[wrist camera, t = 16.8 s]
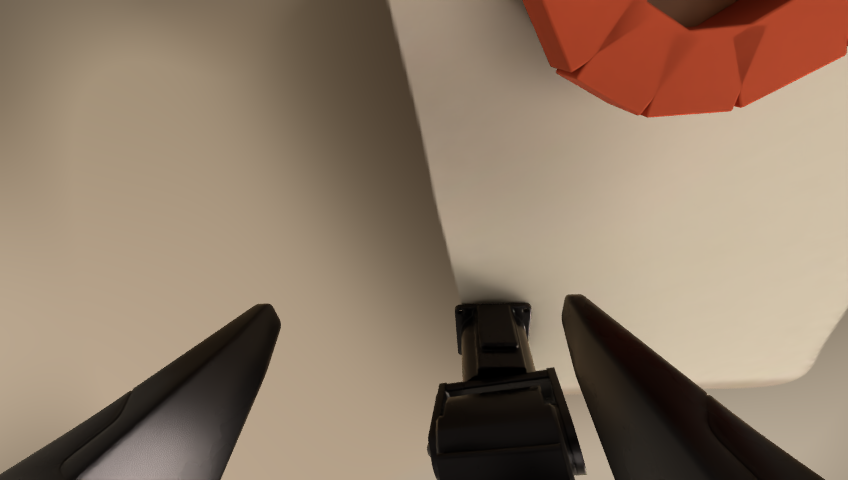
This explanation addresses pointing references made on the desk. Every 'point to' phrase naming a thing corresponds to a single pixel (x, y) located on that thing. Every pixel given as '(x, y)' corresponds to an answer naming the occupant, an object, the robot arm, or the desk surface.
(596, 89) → the orange faceted ring
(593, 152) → the desk surface
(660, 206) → the desk surface
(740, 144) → the desk surface
